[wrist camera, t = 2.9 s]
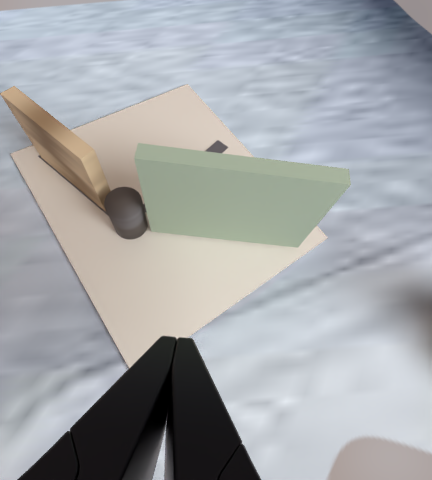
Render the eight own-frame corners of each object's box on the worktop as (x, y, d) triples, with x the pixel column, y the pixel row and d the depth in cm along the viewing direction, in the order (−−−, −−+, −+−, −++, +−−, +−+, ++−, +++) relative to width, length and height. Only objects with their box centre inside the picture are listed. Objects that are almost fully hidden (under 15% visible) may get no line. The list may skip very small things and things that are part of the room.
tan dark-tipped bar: (154, 224, 23) (144, 174, 17) (130, 245, 22) (112, 200, 16) (59, 146, 25) (23, 80, 19) (34, 162, 24) (-11, 99, 18)
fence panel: (151, 231, 22) (134, 158, 15) (153, 219, 22) (138, 143, 15) (297, 247, 22) (350, 184, 15) (297, 235, 23) (348, 169, 16)
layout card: (134, 375, 18) (133, 375, 18) (12, 156, 24) (9, 153, 24) (326, 239, 24) (328, 237, 23) (187, 86, 30) (187, 83, 29)
